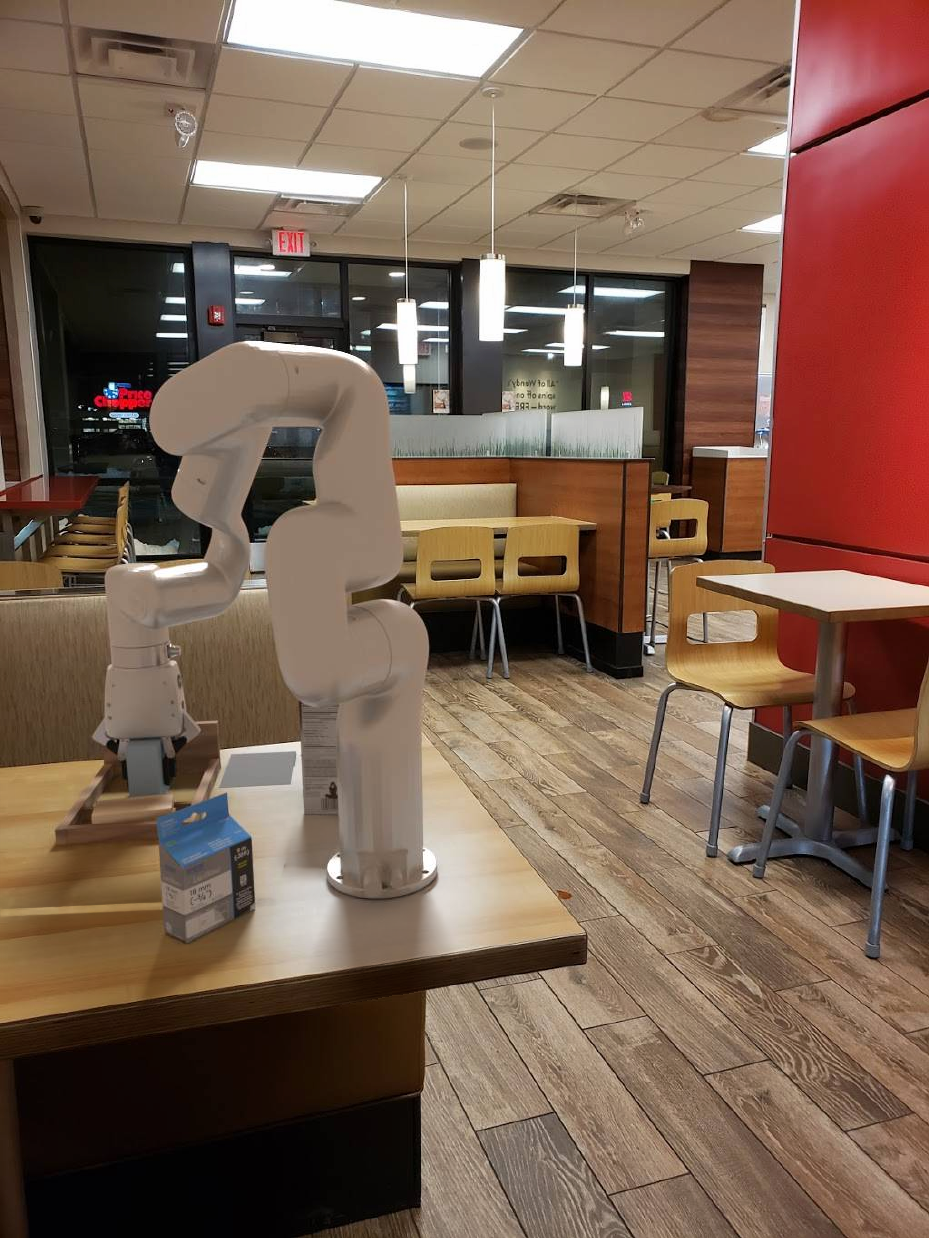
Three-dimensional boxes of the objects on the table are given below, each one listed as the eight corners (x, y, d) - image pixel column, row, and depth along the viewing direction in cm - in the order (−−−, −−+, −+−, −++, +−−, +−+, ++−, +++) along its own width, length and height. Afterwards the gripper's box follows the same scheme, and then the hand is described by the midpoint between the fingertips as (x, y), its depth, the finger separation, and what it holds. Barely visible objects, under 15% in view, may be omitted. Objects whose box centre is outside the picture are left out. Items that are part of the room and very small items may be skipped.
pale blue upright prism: (161, 808, 123) (156, 745, 121) (130, 810, 122) (125, 746, 121) (172, 786, 131) (167, 727, 129) (143, 788, 130) (138, 728, 129)
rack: (194, 840, 113) (190, 779, 111) (56, 848, 111) (50, 787, 109) (221, 771, 136) (217, 720, 135) (107, 777, 134) (103, 725, 133)
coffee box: (315, 789, 129) (310, 680, 126) (360, 789, 129) (356, 680, 126) (302, 815, 120) (297, 698, 117) (350, 815, 120) (347, 698, 117)
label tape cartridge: (186, 946, 90) (178, 829, 87) (162, 933, 92) (153, 819, 89) (257, 909, 96) (251, 799, 94) (233, 898, 99) (226, 791, 96)
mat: (290, 787, 130) (290, 783, 130) (219, 791, 129) (219, 787, 129) (296, 754, 144) (296, 751, 143) (231, 757, 142) (231, 754, 142)
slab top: (172, 819, 114) (171, 808, 114) (92, 827, 112) (91, 816, 112) (173, 804, 119) (173, 793, 119) (97, 811, 117) (96, 800, 116)
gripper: (209, 647, 127) (216, 770, 131) (83, 651, 125) (95, 776, 129) (200, 659, 120) (209, 790, 124) (67, 664, 118) (80, 797, 122)
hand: (150, 781), depth 126 cm, fingers open, 4 cm apart
